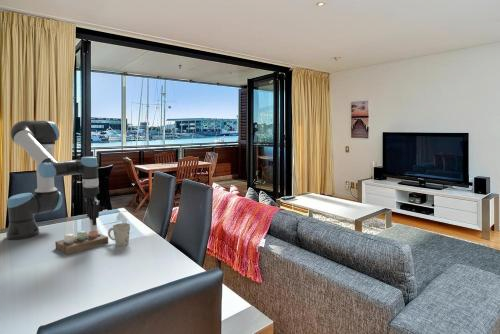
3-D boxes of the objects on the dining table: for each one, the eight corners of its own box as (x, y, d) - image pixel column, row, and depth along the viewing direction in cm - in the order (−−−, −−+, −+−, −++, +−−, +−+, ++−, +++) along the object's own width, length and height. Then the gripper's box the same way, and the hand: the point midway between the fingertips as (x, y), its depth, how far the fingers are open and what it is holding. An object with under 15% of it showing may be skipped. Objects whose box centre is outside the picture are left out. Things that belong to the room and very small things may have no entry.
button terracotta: (87, 238, 169) (87, 231, 168) (96, 236, 172) (95, 229, 172) (91, 240, 166) (91, 232, 166) (100, 238, 170) (99, 230, 169)
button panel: (55, 248, 161) (55, 241, 161) (95, 237, 177) (95, 231, 176) (67, 254, 153) (67, 247, 152) (108, 243, 168) (107, 236, 168)
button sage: (75, 239, 164) (75, 232, 164) (84, 237, 167) (84, 230, 167) (79, 241, 161) (79, 233, 161) (88, 239, 165) (88, 231, 164)
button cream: (63, 243, 159) (62, 235, 159) (72, 240, 163) (72, 233, 162) (67, 244, 157) (66, 237, 156) (76, 242, 160) (75, 234, 160)
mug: (124, 247, 162) (123, 228, 161) (102, 245, 165) (101, 226, 164) (134, 241, 170) (133, 223, 169) (112, 240, 173) (111, 222, 172)
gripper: (77, 186, 167) (80, 230, 170) (89, 188, 159) (92, 234, 162) (92, 184, 173) (94, 226, 176) (104, 186, 165) (106, 231, 167)
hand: (93, 230), depth 169 cm, fingers closed
